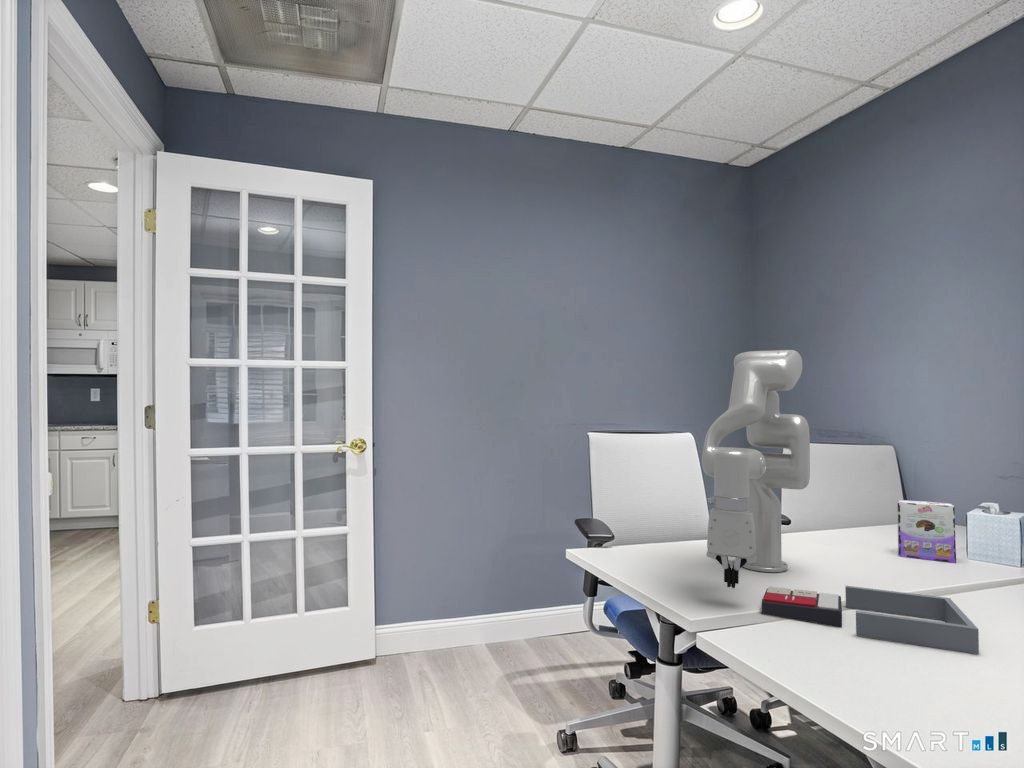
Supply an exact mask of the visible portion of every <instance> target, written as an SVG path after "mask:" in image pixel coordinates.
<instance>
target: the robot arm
mask: <svg viewBox="0 0 1024 768" xmlns="http://www.w3.org/2000/svg"><path fill="white" fill-rule="evenodd" d="M733 368H734V370H733V376H732V384H731V388H730V396H729V403H728V409H727V410H726V411H725V412H723V413H722V414H721V415H720V416H718V418H716V419H715V421H713V423H712V424H711V425H710V427H709V428H708V430H707V432H706V434H705V437H704V441H703V448H702V454H701V467H702V470H703V473H704V474H705V475H707V476H708V477H711V478H713V483H714V484H713V496H712V497H707V504H710V505H712V506H713V507H712V508H711V509H710V510H709V516H708V522H707V524H708V525H707V537H706V538H707V541H706V543H707V544H706V546H707V547H706V548H707V551H706V557H707V558H709V559H712V560H715V561H717V562H718V563H719V564H720V565H721V567H722V568H723V579H724V580H723V582H724V583H726V587H727V588H732V589H735V588H736V585H739V582H740V581H739V578H740V577H739V571H740V569H741V568H742V567H743V568H745V569H747V570H752V571H757V572H763V573H783V572H785V571H787V570H788V569H789V565H788V563H787V562H785V561H784V560H782V557H783V556H782V505H781V500H780V499H779V497H778V496H777V495H776V493H775V492H774V490H772V489H785V490H805V488H807V487H808V486H809V483H810V479H811V478H810V477H811V462H810V461H811V448H810V447H811V446H810V442H811V441H810V440H811V439H810V438H811V437H810V435H811V434H810V427H809V423H808V420H807V419H806V418H805V417H804V416H803V415H801V414H795V413H793V414H791V413H789V414H788V413H780V396H779V393H778V392H783V391H784V392H786V391H790V390H792V389H794V388H795V386H796V384H797V383H798V381H799V379H801V375H802V373H803V372H802V371H803V359H802V356H801V354H800V353H799V352H798V351H797V350H794V349H779V350H776V349H775V350H755V351H754V350H752V351H751V350H750V351H744V352H741V353H738V354H737V355H736V356H734V359H733ZM742 428H746V430H745V431H746V438H747V439H746V440H747V442H748V443H749V444H750V445H751V446H753V447H757V448H770V449H785V450H786V449H787V450H789V451H790V453H777V452H761V451H759V450H757V449H754V448H745V447H730V446H729V447H726V446H719V445H720V443H721V441H722V440H723V439H725V437H726V436H728V435H729V434H731V433H733V432H736V431H737V430H740V429H742ZM729 557H731V558H734V564H733V565H732V566H731V564H730V562H729Z"/></svg>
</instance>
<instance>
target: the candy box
mask: <svg viewBox="0 0 1024 768" xmlns="http://www.w3.org/2000/svg"><path fill="white" fill-rule="evenodd" d="M896 502H897V503H896V505H897V506H896V508H897V514H896V515H897V554H898V557H902V558H910V559H911V558H912V559H917V560H918V559H919V560H927V561H937V562H944V563H953V564H954V563H955V564H956V563H957V552H956V551H957V549H956V548H957V547H956V546H957V545H956V518H955V517H956V516H955V515H956V514H955V510H956V508H955V505H954V504H953V503H947V502H935V501H934V502H933V501H925V500H923V501H922V500H910V499H907V500H906V499H897V501H896Z"/></svg>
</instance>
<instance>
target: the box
mask: <svg viewBox="0 0 1024 768" xmlns="http://www.w3.org/2000/svg"><path fill="white" fill-rule="evenodd" d="M844 591H845V607H846V608H848V609H856V610H855V634H856V636H857V637H863V638H869V639H873V640H875V639H876V640H882V641H890V642H894V643H895V642H896V643H901V644H902V643H903V644H909V645H915V646H922V647H928V648H934V647H935V648H934V649H942V650H947V651H948V650H949V651H954V652H955V651H956V652H961V651H962V652H963V653H967V652H968V653H969V654H975V655H979V653H980V645H979V643H980V642H979V641H980V640H979V639H980V638H979V634H980V633H979V632H980V631H979V628H978V627H977V626H976V625H975V624H974V623H973V622H972V620H971V619H970V618H969V617H968V616H967V615H966V614H965V613H964V612H963V610H962V609H961V608H959V606H958V605H957V604H956V603H955V602H954V601H953V600H952V599H951V598H950V597H945V596H935V595H928V594H927V595H926V594H921V593H919V594H918V593H911V592H902V591H893V590H885V589H877V588H869V587H860V586H853V585H845V590H844ZM862 610H864V611H862ZM868 611H870V612H868ZM876 612H877V613H876ZM879 612H880V613H879ZM881 613H882V614H881ZM883 613H885V614H883ZM890 614H891V615H890ZM892 614H893V615H892ZM896 615H897V616H896ZM898 615H901V616H898ZM904 616H905V617H904ZM906 616H908V617H906ZM909 616H910V617H909ZM912 617H916V618H912ZM920 618H922V619H920ZM928 619H929V620H928ZM934 620H938V621H934ZM944 621H946V622H944Z"/></svg>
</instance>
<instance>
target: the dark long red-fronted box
mask: <svg viewBox="0 0 1024 768" xmlns="http://www.w3.org/2000/svg"><path fill="white" fill-rule="evenodd" d="M842 606H843V605H842V597H841V595H838V594H836V593H825V592H819V593H818V591H814V590H808V589H807V590H806V589H798V588H794V589H793V590H792V589H791V588H789V587H788V588H787V587H779V586H777V587H776V586H768V587H767V588H766V590H765V593H764V595H763V596H762V599H761V614H762V615H766V616H770V617H771V616H772V617H778V618H784V619H790V620H796V621H802V622H811V623H816V624H818V625H822V626H829V627H833V628H840V629H841V628H843V607H842Z"/></svg>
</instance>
